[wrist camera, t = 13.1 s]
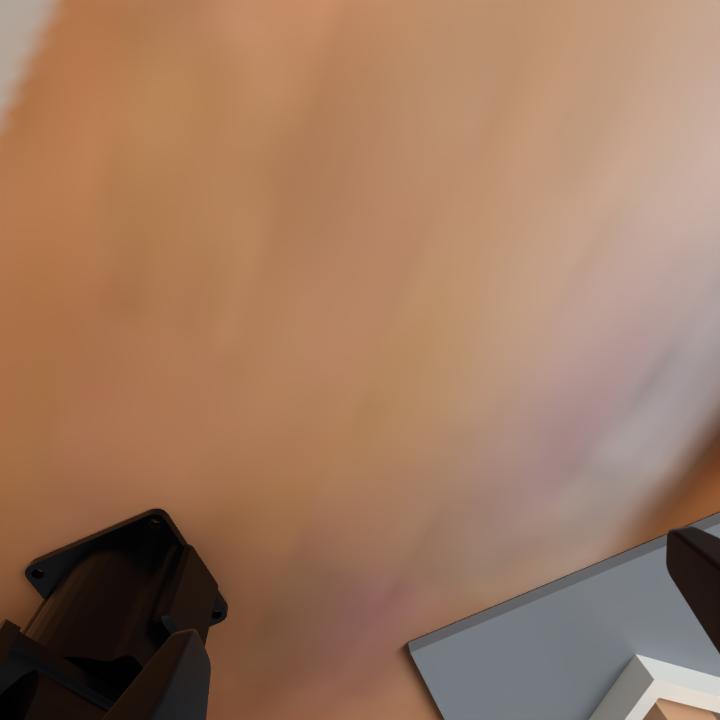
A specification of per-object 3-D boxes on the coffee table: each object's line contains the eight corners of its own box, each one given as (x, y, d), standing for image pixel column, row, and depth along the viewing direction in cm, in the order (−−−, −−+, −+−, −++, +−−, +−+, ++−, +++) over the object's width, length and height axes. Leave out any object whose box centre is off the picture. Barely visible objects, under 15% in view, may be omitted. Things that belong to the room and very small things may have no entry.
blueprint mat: (510, 844, 31) (524, 888, 29) (407, 642, 25) (416, 680, 23) (801, 725, 31) (836, 761, 29) (768, 491, 25) (809, 516, 23)
